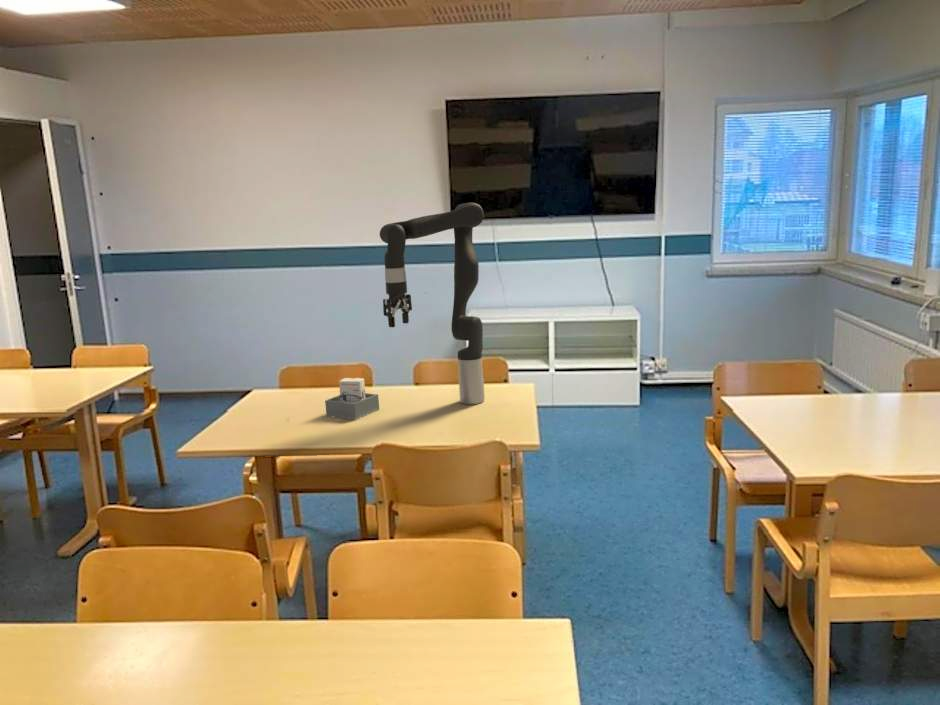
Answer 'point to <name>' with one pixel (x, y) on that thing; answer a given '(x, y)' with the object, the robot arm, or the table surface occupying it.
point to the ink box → (352, 390)
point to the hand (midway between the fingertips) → (399, 325)
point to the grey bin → (352, 407)
